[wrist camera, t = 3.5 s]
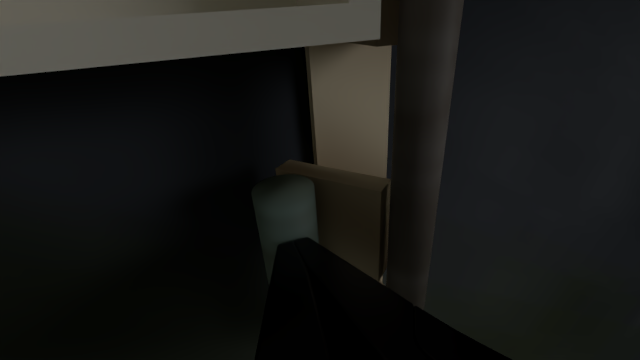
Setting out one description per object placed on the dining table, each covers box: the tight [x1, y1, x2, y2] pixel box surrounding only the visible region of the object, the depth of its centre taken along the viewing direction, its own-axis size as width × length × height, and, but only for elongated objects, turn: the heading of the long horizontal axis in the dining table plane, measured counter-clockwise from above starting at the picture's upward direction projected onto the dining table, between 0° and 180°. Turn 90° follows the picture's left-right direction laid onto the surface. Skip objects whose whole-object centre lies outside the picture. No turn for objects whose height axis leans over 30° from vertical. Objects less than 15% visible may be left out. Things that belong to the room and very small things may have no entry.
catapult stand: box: [305, 0, 400, 284], centre depth 10 cm, size 20×13×3 cm
